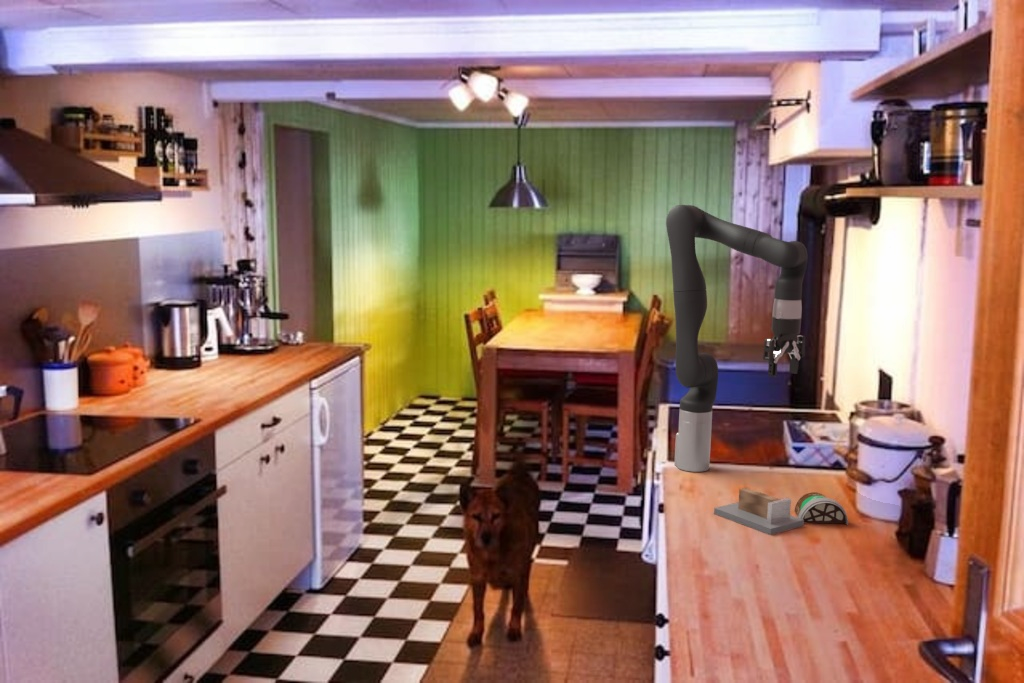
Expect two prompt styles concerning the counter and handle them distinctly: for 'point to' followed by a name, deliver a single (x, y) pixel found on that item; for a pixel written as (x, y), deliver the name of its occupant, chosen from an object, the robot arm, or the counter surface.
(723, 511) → the grey cutting board
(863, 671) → the counter surface
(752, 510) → the brown and grey block
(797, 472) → the counter surface
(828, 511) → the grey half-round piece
